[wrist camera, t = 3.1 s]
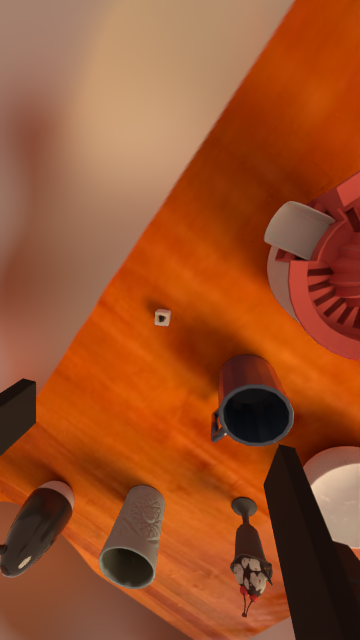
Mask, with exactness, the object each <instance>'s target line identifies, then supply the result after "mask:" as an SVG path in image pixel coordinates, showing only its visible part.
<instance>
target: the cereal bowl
mask: <svg viewBox="0 0 360 640" xmlns="http://www.w3.org/2000/svg"><path fill="white" fill-rule="evenodd" d="M303 469H304V472H305V474H306V476H307V479H308V481H309V484H310V486H311V489H312V491H313V494H314V496H315V498H316V501H317V503H318V506H319V508H320V511H321V513H322V515H323V518H324V520H325V523H326V525H327V528H328V530H329V532H330V535H331V537H332V540H333V541H336V542H339V543H343V544H346V545H348V546H349V547H350V548H359V549H360V447H354V446H339V447H334V448H329V449H326V450H323V451H321V452H319V453H317V454H316V455H314V456H313V457H312V458H310V459H309V460H308V461H307V463H306V464H305V465H304V467H303Z"/></svg>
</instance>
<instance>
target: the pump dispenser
mask: <svg viewBox="0 0 360 640" xmlns="http://www.w3.org/2000/svg"><path fill="white" fill-rule="evenodd" d="M73 507H74V494H73V492H72V490H71V488H70V487H69V486H68V485H67V484H65V483H63V482H61V481H49V482H47V483H45V484H43V485H41V486H40V487H39V488H37V489H36V490H34V491H33V492H32V493H31V494H30V495H29V497H28V498H27V500H26V501H25V503H24V504H23V506H22V507H21V509H20V511H19V513H18V514H17V516H16V518H15V520H14V522H13V524H12V526H11V529H10V530H9V533H8V535H7V538H6V540H5V543H4V545H0V555H1V557H0V571H1V573H2V574H3V575H5V576H6V577H16V576H18V575H20V574H22V573H23V572H25V571H26V570H27V569H29V568H30V567H31V566H32V565H33V564H34V563H35V562H36V561H37V560H38V559H39V558H40V557H41V556H42V555H43V554H44V553H45V552H46V551H47V550H48V549H49V548H50V546H51V545H52V544H53V543H54V542H55V541H56V539H57V538H58V537H59V535H60V534H61V532H62V531H63V530H64V528H65V527H66V525H67V524H68V522H69V520H70V518H71V516H72V510H73Z"/></svg>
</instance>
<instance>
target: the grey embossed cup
mask: <svg viewBox="0 0 360 640" xmlns="http://www.w3.org/2000/svg"><path fill="white" fill-rule="evenodd" d="M164 509H165V501H164V498H163V496H162V495H161V494H160V493H159V492H158V491H157V490H156V489H154V488H152V487H149V486H145V485H139V486H135V487H133V488H132V489H131V490H130V491H129V493H128V495H127V497H126V499H125V501H124V504H123V506H122V509H121V511H120V513H119V516H118V517H117V519H116V522H115V524H114V526H113V528H112V531H111V533H110V535H109V537H108V539H107V541H106V543H105V545H104V547H103V549H102V552H101V554H100V557H99V566H100V569H101V571H102V572H103V574H104V575H105V576H106V577H107V578H108V579H109V580H110V581H112V582H113V583H115V584H117V585H119V586H122V587H125V588H129V589H141V588H144V587H147V586H148V585H149V584H150V583H152V581H153V580H154V578H155V571H156V563H157V556H158V549H159V537H160V534H161V524H162V521H163V516H164Z"/></svg>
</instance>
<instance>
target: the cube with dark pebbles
mask: <svg viewBox="0 0 360 640" xmlns="http://www.w3.org/2000/svg"><path fill="white" fill-rule="evenodd" d="M170 318H171V310H165V309H158V310H157V311H156V312H155V325H161V326H168V325H169V323H170Z"/></svg>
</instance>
